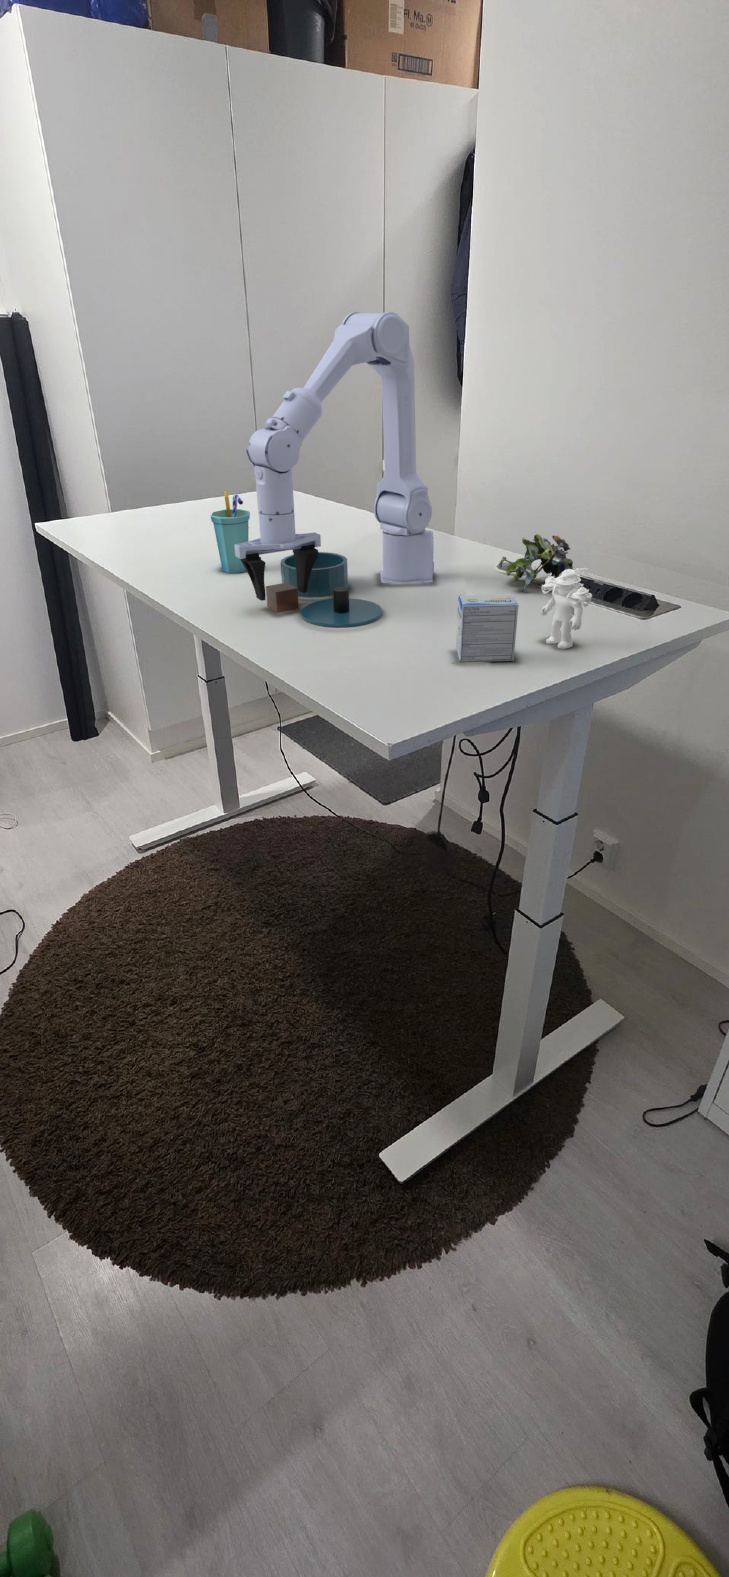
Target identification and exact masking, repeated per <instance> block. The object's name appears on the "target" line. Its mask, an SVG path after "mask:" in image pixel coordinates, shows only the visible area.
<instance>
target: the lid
mask: <svg viewBox="0 0 729 1577" xmlns="http://www.w3.org/2000/svg"><path fill="white" fill-rule="evenodd" d="M382 615H383V608H382V607H381V606H380V605H379V604H378V603H376V602H373V601H371V600H368V599H367V600H366V599H361V598H351V597H350V589H349V587H348V588H347V587H336V588H334V589H333V595H332V598H327V599H321V600H318V601H314V602H311V603H309V604H307V605H304V606H303V608H302V609H301V611H300V616H301V618H302V620H303V621H305V622H306V623H309V624H312V625H314V626H319V627H327V628H351V627H359V626H363V625H367V624H371V623H373V622H376V621H378V620H379V619H380V618H381V617H382Z"/></svg>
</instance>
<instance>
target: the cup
mask: <svg viewBox="0 0 729 1577" xmlns="http://www.w3.org/2000/svg"><path fill="white" fill-rule="evenodd" d="M223 492H224V502H225V509H221V510H217V511H212V513H211V515H210V520H211V523H212V524H213V529H214V534H215V539H216V544H217V549H218V554H219V560H220V566H221V570H222V572H224V573H228V574H233V573H234V574H238V573H239V574H240V573H244V572H247V570H246V569H245V567H244V565H243V564H242V562H241V560H240V559H239V558H238V557H236V556H235V546H234V545H235V544H240V543H244V542H248V541H249V521H250V518H251V512H250V511H249V510H245V509H238V504H239V505H240V506H241V505H243V503H244V501H243V500H242V498H241V497H240V496H239V495H238V494H237V493H234V494H233V495H232V508H231V504H230V503H231V502H230V497H229V492H228V490H224V491H223Z"/></svg>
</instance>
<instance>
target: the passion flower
mask: <svg viewBox="0 0 729 1577" xmlns="http://www.w3.org/2000/svg"><path fill="white" fill-rule="evenodd" d="M551 537H552V540H553V541H554V542H555V543H556V545H555V544H554V543H552V544H551V541H549V539H547V538H545V537H542V535H540V534H539V533H535V535H534V536H533V539H532V541H531V540H529V539H527V538H525V537H524V536H522V538H521V541H522V544H523V545H524V546H525V548H526V549H525V550H526V551H525V553H524V556H523V557H521V558H517V559H516V560H515V561H514V562H512V561H509V560H508V559H507V557H506V556H502V559H500V561H499V564H498V566H499V568H503V564H504V562H507V563H509V565H508V566H507V567H506V570H505V572H506V576H510V574H512V573H514V572H515V575H513V578H512V583H515V582H516V581H518V580H519V579H521V578H523V576H524V573H525V577H524V580H525V583H524V586H523V588H522V590H521V592H522V593H523V592H524V591H525V590H526V588H527V587H528V585H529V584H531V583H532V582H533V581H534V580H535V579H536V578H537V575H538V574H539V573H540V572H541V571H542V570H543V572H544V573H545V574H547V575H550V574H551V576H554V578H557V577H560V576H559V575H561V574H562V572H563V571H564V570H567V569H573V570H575V569H574V566H573V564H574V562H573V560H572V558H568V557H567V555H568V554H569V552H568V551H569V550H571V547H570V545H569V543H567V542H566V540H565V539H564V538H561V537H560V535H554V534H553V535H552V536H551ZM537 560H540V561H541V562H540V564H539V565H538V567H537V568H536V569H533V568H532V565H533V563H534V562H535V561H537ZM528 570H529V571H528Z"/></svg>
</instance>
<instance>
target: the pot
mask: <svg viewBox="0 0 729 1577" xmlns="http://www.w3.org/2000/svg"><path fill="white" fill-rule="evenodd" d="M348 570H349V569H348V558H347V557H346V556H344V555H342V554H339V553H335V552H327V551H318V557H317V559H316V561H315V563H314V565H313V568H312V570H311V573H310V577H309V581H308V586H307V592H306V593H302V592H300V591H298V598H309V599H310V598H311V599H313V598H326V597H333V589H334V588H336V587H347V588H349V575H348V574H349V573H348V572H349V571H348ZM280 574H281V583H289V584H291V585H293V586H294V587H296V588H297V576H296V565H295V559H294V554H291V555H288V556H285V557H283V558H282V559H281V560H280Z"/></svg>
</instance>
